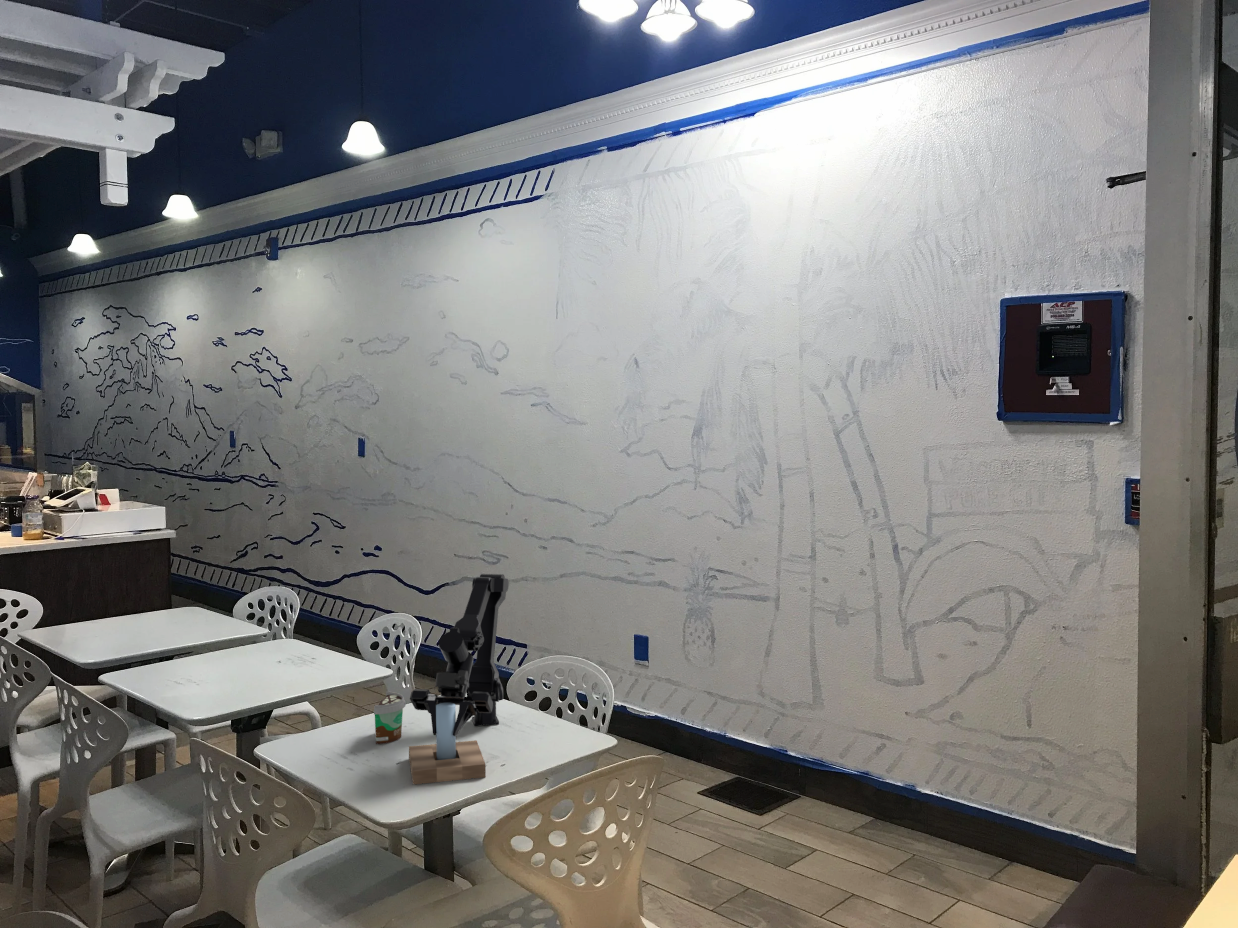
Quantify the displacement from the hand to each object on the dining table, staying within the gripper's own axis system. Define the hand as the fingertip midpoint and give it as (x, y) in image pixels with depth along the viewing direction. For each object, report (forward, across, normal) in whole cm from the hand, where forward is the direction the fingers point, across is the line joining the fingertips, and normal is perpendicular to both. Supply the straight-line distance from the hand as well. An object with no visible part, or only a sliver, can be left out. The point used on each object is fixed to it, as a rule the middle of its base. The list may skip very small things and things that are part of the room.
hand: (444, 734), depth 220 cm
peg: (+4, 0, +6) cm, 8 cm away
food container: (-8, -20, +20) cm, 29 cm away
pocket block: (+5, 0, +7) cm, 8 cm away
